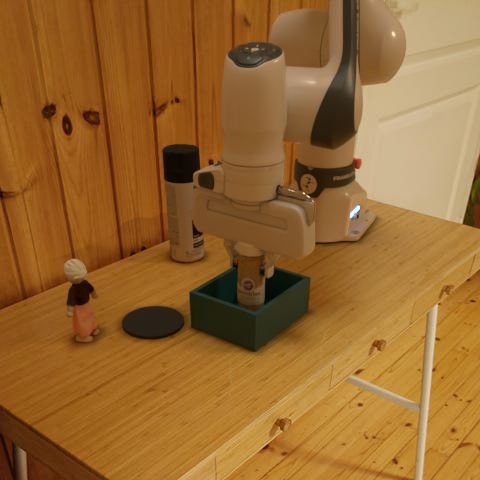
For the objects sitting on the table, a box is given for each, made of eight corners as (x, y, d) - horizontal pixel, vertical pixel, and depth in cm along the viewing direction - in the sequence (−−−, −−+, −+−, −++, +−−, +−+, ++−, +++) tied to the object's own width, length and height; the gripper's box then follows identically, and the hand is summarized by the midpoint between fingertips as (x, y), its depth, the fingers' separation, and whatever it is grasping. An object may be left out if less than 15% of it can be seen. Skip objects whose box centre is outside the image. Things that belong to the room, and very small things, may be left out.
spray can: (199, 264, 116) (194, 154, 104) (165, 261, 117) (156, 152, 105) (207, 251, 121) (204, 144, 109) (175, 248, 122) (168, 141, 110)
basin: (247, 291, 108) (247, 258, 104) (308, 311, 102) (311, 277, 98) (190, 326, 98) (189, 291, 94) (255, 351, 92) (255, 315, 88)
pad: (151, 302, 104) (151, 300, 104) (196, 319, 100) (196, 317, 99) (109, 326, 98) (108, 323, 98) (155, 345, 93) (155, 343, 93)
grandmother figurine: (83, 323, 99) (69, 248, 91) (106, 326, 98) (94, 250, 90) (65, 348, 93) (49, 270, 85) (89, 351, 92) (75, 273, 84)
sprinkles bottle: (236, 324, 98) (236, 244, 90) (237, 311, 102) (237, 232, 93) (264, 325, 98) (267, 244, 90) (264, 311, 102) (267, 233, 93)
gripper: (328, 188, 83) (319, 281, 92) (210, 161, 93) (213, 249, 101) (304, 200, 79) (297, 297, 88) (184, 172, 89) (188, 261, 97)
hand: (251, 271), depth 95 cm, fingers closed on sprinkles bottle, 4 cm apart
